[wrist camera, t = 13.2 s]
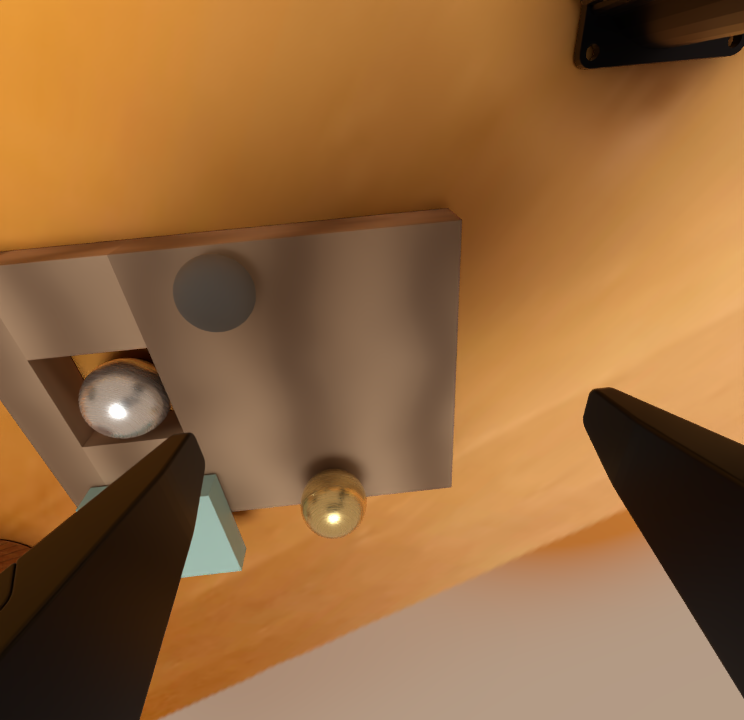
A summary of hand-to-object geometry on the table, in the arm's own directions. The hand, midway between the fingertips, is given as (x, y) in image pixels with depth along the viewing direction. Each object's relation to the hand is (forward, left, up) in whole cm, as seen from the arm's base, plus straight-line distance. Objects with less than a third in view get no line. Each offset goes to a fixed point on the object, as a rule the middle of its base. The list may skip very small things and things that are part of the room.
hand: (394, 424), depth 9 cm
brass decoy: (+3, +12, -8) cm, 15 cm away
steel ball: (+12, +5, -10) cm, 17 cm away
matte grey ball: (+6, -1, -8) cm, 10 cm away
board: (+7, +6, -12) cm, 15 cm away
